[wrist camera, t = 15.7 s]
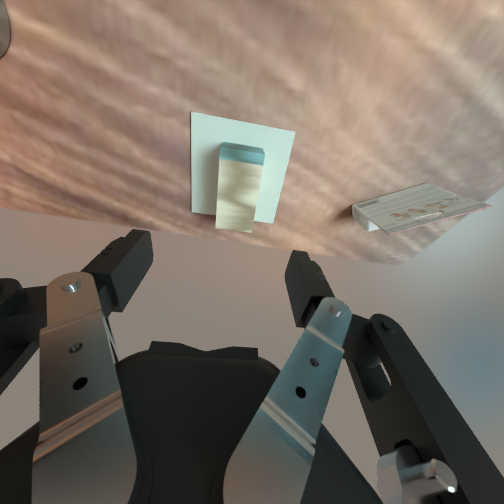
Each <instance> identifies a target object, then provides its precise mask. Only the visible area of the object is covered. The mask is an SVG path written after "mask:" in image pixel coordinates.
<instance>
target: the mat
mask: <svg viewBox="0 0 504 504" xmlns="http://www.w3.org/2000/svg"><path fill="white" fill-rule="evenodd" d="M294 136H295V132H293V131H288V130H283V129H278V128H272V127H267V126H262V125H257V124H252V123H247V122H242V121H237V120H231V119H226V118H221V117H216V116H211V115H206V114H201V113H196V112H191V167H192V212H195V213H202V214H209V215H216V211H217V193H218V175H219V157H220V146H221V145H222V144H223V143H224V142H229V143H235V144H241V145H247V146H253V147H259V148H263V151H264V153H265V159H264V164H263V170H262V176H261V182H260V188H259V193H258V199H257V205H256V211H255V216H254V221H259V222H266V223H273V221H274V217H275V213H276V209H277V205H278V201H279V197H280V193H281V189H282V185H283V181H284V177H285V172H286V168H287V164H288V160H289V156H290V152H291V148H292V144H293V140H294Z"/></svg>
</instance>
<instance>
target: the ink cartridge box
mask: <svg viewBox="0 0 504 504" xmlns="http://www.w3.org/2000/svg"><path fill="white" fill-rule="evenodd" d="M488 207H492V205H488V204H485V203H481V202H478V201H475V200H471V199H468V198H464V197H461V196H457V195H455V194H454V193H452V192H449V191H447V190H444V189H442V188H440V187H437V186H435V185H432V184H430V183H425V184H421V185H418V186H415V187H411V188H408V189H405V190H401V191H398V192H394V193H391V194H388V195H384V196H381V197H377V198H374V199H371V200H367V201H364V202H360V203H357V204H353V205H352V216H353V217H354V219H356V220H357V221H358V222H359V223H360V225H361V226H363V227H364V228H365V230H366V231H368V232H369V231H372V230H376V229H382V230H383V231H384V232H385V233H387V234H388V235H390V234H393V233H397V232H400V231H404V230H408V229H412V228H415V227H419V226H423V225H427V224H430V223H434V222H437V221H441V220H445V219H448V218H452V217H456V216H460V215H463V214H467V213H470V212H474V211H478V210H481V209H485V208H488ZM439 212H443V214H441V215H440V216H438V217H436V218H433V219H423V220H413V219H416V218H420V217H424V216H428V215H431V214H435V213H439Z"/></svg>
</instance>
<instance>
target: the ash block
mask: <svg viewBox="0 0 504 504" xmlns="http://www.w3.org/2000/svg"><path fill="white" fill-rule="evenodd" d="M264 159H265V153H264V151H263V148H259V147H253V146H247V145H241V144H235V143H229V142H224V143H223V144H222V145H221V146H220V157H219V175H218V193H217V211H216V228H219V229H227V230H235V231H244V232H252V228H253V222H254V216H255V211H256V205H257V199H258V193H259V188H260V182H261V176H262V170H263V164H264Z"/></svg>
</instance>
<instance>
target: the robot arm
mask: <svg viewBox="0 0 504 504" xmlns="http://www.w3.org/2000/svg"><path fill="white" fill-rule="evenodd" d="M9 42H10V24H9V18H8V15H7V11H6V7H5V4H4V2H3V0H0V57H1V56H2V55H3V54H4V53H5V52H6V50H7V48H8V45H9ZM152 262H153V249H152V241H151V234H150V232H149V231H144V230H137V229H133V230H131V232H129V233H128V234H127V236H126V237H120V238H118V239H116V240H114V241H112V242H111V243H110V244H109V245H108V246H107V247H106V248H105V249H103V250H102V251H101V253H100V254H98V255H97V256H96V257H95V258H94V259H93V260H92V261H91V262H90V263H89V264H88V265H87V266H86V267H85V268H84V269H83V270H81V271H80V272H73V273H68V274H65V275H62V276H60V277H58V278H56V279H54V280H53V281H52V282H51V283H49V285H48V286H39V287H31V288H22V286H21V284H20V283H19V282H18V281H17V280H15V279H11V278H1V279H0V395H1V394H2V393H3V391H4V390H5V389H6V388H7V387H8V385H9V384H10V383H11V382H12V380H13V379H14V378H15V377H16V375H17V374H18V373H19V372H20V370H21V369H22V368H23V367H24V365H25V364H26V363H27V362H28V361H29V359H30V358H31V357H32V356H33V354H34V353H35V352H36V351H37V349H38V348H39V347H40V359H39V360H40V361H39V362H40V364H39V367H40V369H39V371H40V372H39V373H40V374H39V375H40V376H39V377H40V378H39V379H40V380H39V381H40V382H39V384H40V386H39V388H40V390H39V392H40V394H39V395H40V396H39V402H40V404H39V407H40V408H39V411H40V412H39V417H40V418H39V422H37V423H36V424H35V425H33V426H32V427H31V428H29V429H28V430H27V431H25V432H24V433H23V434H21V435H20V436H19V437H17V438H16V439H15V440H13V441H12V442H11V443H9V444H8V445H7V446H5V447H4V448H3V449H2V450H0V504H504V478H503V476H502V475H501V473H500V472H499V470H498V469H497V467H496V466H495V464H494V463H493V461H492V460H491V459H490V457H489V455H488V454H487V453H486V451H485V450H484V448H483V447H482V445H481V444H480V442H479V441H478V439H477V438H476V436H475V435H474V434H473V432H472V430H471V429H470V427H469V426H468V424H467V423H466V422H465V420H464V419H463V417H462V416H461V414H460V413H459V411H458V410H457V408H456V407H455V406H454V404H453V402H452V401H451V399H450V398H449V396H448V395H447V394H446V392H445V390H444V389H443V388H442V386H441V385H440V383H439V382H438V380H437V379H436V377H435V376H434V374H433V373H432V371H431V370H430V368H429V367H428V365H427V364H426V362H425V361H424V359H423V358H422V357H421V355H420V354H419V352H418V351H417V349H416V348H415V346H414V345H413V343H412V342H411V340H410V339H409V337H408V336H407V335H406V333H405V332H404V330H403V329H402V327H401V326H400V325H399V324H398V323H397V322H396V321H394V320H393V319H392V318H390V317H388V316H386V315H383V314H374V315H372V317H371V318H370V319H366V318H363V317H360V316H357V315H355V314H352V312H351V310H350V308H349V307H348V306H347V305H346V304H345V303H344V302H343V301H341V300H339V299H337V298H335V296H334V294H333V292H332V290H331V288H330V286H329V284H328V282H327V280H326V278H325V276H324V275H323V272H322V270H321V268H320V267H319V266H318V264H317V263H315V261H311V260H310V258H309V256H308V253H307V252H305V251H297V250H293V251H292V254H291V256H290V259H289V262H288V265H287V268H286V271H285V282H286V286H287V291H288V295H289V299H290V303H291V307H292V311H293V316H294V320H295V323H296V327H302V328H304V332H303V333H302V335H301V337H300V339H299V340H298V342H297V344H296V346H295V347H294V349H293V351H292V353H291V354H290V356H289V358H288V359H287V361H286V363H285V365H284V366H283V368H282V370H281V371H280V370H279V369H278V368H277V367H276V366H275V365H274V364H272V363H271V362H269V361H268V360H266V359H264V358H261V357H259V356H258V348H249V347H227V348H222V349H217V350H211V351H202V350H199V349H196V348H193V347H190V346H187V345H184V344H181V343H173V342H158V341H152V342H151V345H150V347H149V350H145V351H142V352H138V353H135V354H133V355H130V356H128V357H126V358H124V359H122V360H120V358H119V354H118V351H117V347H116V343H115V340H114V336H113V333H112V329H111V326H110V322H109V319H108V316H109V315H110V313H111V312H123V310H124V308H125V307H126V305H127V304H128V302H129V300H130V299H131V297H132V295H133V294H134V292H135V291H136V289H137V287H138V286H139V284H140V283H141V281H142V279H143V278H144V276H145V275H146V273H147V271H148V270H149V268H150V266H151V265H152ZM342 358H343V359H346V362H347V365H348V368H349V371H350V373H351V376H352V379H353V382H354V385H355V388H356V390H357V393H358V396H359V399H360V402H361V404H362V407H363V410H364V413H365V416H366V418H367V421H368V424H369V427H370V430H371V433H372V435H373V438H374V441H375V444H376V447H377V450H378V452H379V455H380V459H379V460H378V463H377V476H378V481H377V487H378V490H379V493H380V495H381V499H380V497H379V496H378V495H377V493H376V492H375V491H374V489H373V488H372V487H371V485H370V484H369V483H368V482H367V481H366V479H365V478H364V477H363V475H362V474H361V473H360V471H359V470H358V469H357V467H356V466H355V465H354V464H353V462H352V461H351V460H350V458H349V457H348V456H347V455H346V453H345V452H344V451H343V449H342V448H341V447H340V446H339V444H338V443H337V442H336V440H335V439H334V438H333V437H332V435H331V434H330V433H329V431H328V430H327V429H326V428H325V426H324V425H323V424H322V420H323V417H324V414H325V411H326V407H327V404H328V401H329V398H330V395H331V392H332V389H333V386H334V383H335V379H336V376H337V373H338V370H339V367H340V364H341V360H342ZM381 362H382V363H383V365H384V367H385V369H386V371H387V373H388V375H389V377H390V380H391V386H390V383H389V382H388V380H387V377H386V375H385V374H384V371H383V369H382V367H381V365H380V363H381Z"/></svg>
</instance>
